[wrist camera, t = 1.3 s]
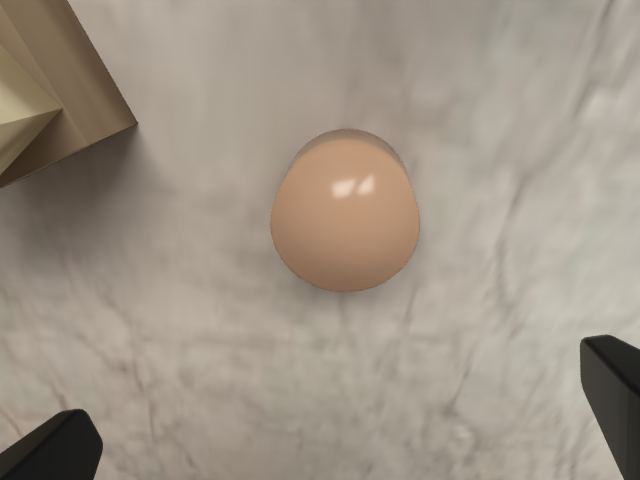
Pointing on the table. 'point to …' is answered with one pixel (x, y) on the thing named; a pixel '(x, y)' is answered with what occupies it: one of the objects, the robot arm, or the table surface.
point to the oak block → (20, 109)
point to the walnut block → (60, 82)
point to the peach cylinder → (345, 212)
